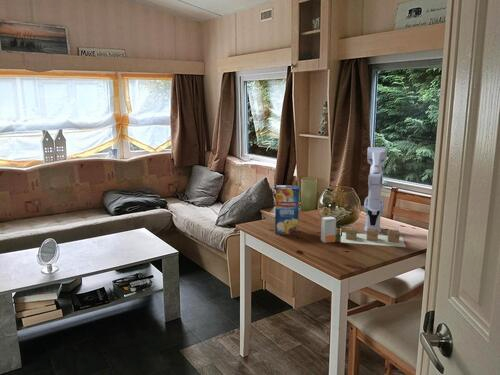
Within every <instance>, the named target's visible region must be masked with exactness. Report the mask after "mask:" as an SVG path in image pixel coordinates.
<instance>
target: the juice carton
mask: <svg viewBox="0 0 500 375" xmlns="http://www.w3.org/2000/svg"><path fill="white" fill-rule="evenodd" d="M299 202H300V185H278V184H277V185H275V206H274V207H275V209H274V210H275V213H274V214H275V215H274V216H275V217H274V218H275V220H274V226H275V227H274V234H277V235H298V234H299V211H300V210H299V206H300V203H299Z"/></svg>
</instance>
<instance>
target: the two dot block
mask: <svg viewBox="0 0 500 375" xmlns="http://www.w3.org/2000/svg"><path fill="white" fill-rule="evenodd" d="M345 230H346V231H345V233H346V239H352V240H356V236H357V234H358V233H357V231H358V227H356V226H346V227H345Z"/></svg>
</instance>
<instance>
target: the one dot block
mask: <svg viewBox="0 0 500 375" xmlns="http://www.w3.org/2000/svg"><path fill="white" fill-rule="evenodd" d="M400 235H401V232H400V230H399V229H393V228H391V229H390V228H387V236H388V237H387V239H388V242H394V243H399V236H400Z"/></svg>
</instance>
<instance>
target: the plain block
mask: <svg viewBox="0 0 500 375" xmlns="http://www.w3.org/2000/svg"><path fill="white" fill-rule="evenodd" d="M366 234H367V241H377V240H378V235H379V232H378V229H377V228H367V231H366Z"/></svg>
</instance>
